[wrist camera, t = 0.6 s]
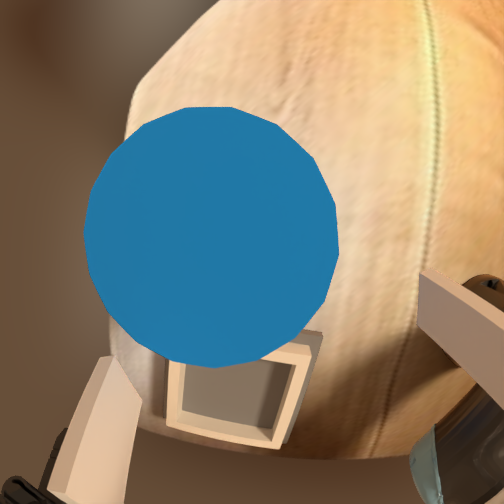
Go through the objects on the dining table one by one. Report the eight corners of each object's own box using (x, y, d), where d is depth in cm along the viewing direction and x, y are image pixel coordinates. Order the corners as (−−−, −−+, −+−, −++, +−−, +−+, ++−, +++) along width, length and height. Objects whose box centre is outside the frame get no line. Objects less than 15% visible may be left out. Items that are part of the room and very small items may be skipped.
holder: (321, 332, 36) (326, 347, 32) (286, 437, 39) (286, 456, 35) (173, 302, 37) (161, 313, 33) (166, 412, 40) (157, 428, 36)
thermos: (299, 261, 35) (345, 363, 11) (213, 268, 36) (108, 366, 12) (291, 173, 34) (324, 87, 9) (204, 182, 35) (76, 134, 10)
